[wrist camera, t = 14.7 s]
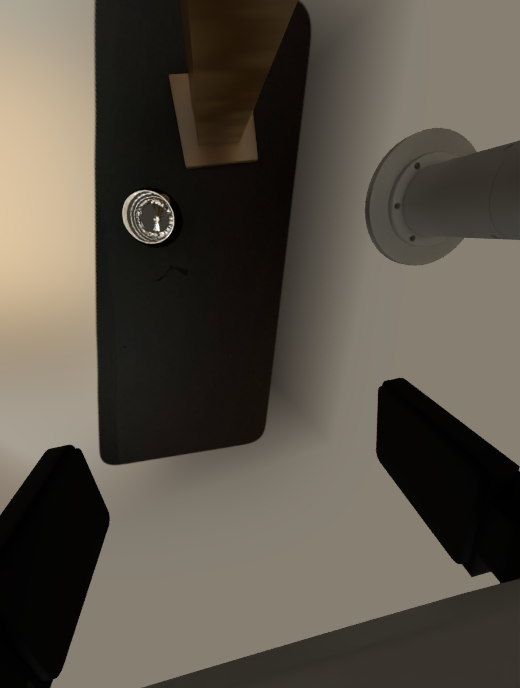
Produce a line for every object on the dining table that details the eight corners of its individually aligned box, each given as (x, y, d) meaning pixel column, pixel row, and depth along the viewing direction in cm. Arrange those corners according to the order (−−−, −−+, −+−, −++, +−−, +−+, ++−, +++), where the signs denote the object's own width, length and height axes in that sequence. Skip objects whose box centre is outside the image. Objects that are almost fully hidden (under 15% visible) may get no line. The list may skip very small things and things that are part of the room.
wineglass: (151, 248, 40) (131, 256, 29) (133, 202, 38) (104, 192, 27) (193, 236, 41) (189, 240, 29) (178, 190, 38) (166, 175, 27)
